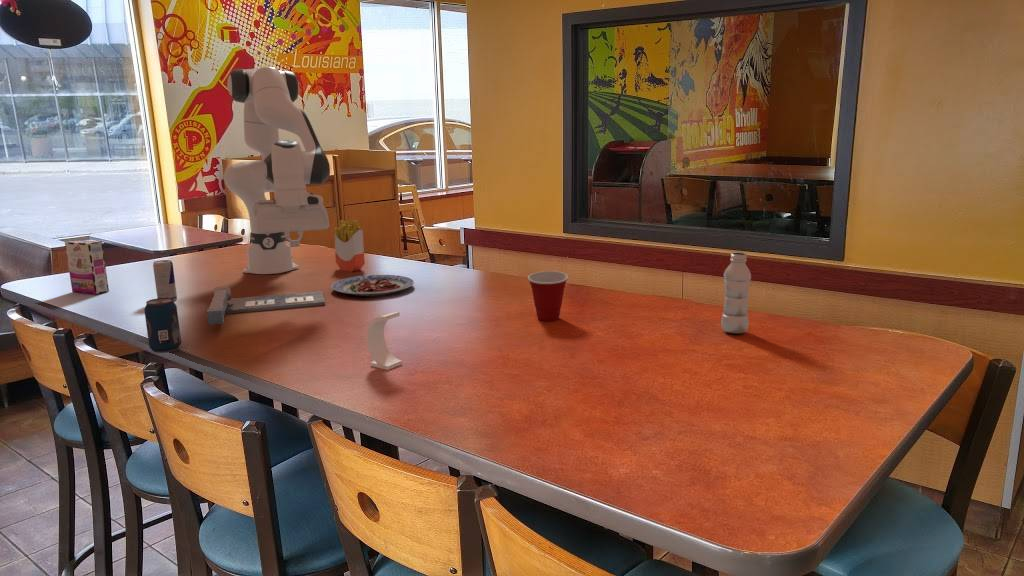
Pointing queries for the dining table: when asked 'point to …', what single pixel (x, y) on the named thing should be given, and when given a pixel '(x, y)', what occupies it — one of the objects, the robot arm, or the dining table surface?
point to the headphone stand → (380, 343)
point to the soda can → (162, 325)
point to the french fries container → (349, 246)
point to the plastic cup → (548, 293)
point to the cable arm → (218, 305)
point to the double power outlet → (275, 302)
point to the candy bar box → (87, 266)
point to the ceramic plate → (372, 285)
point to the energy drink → (164, 279)
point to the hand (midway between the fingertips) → (295, 246)
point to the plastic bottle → (736, 295)
